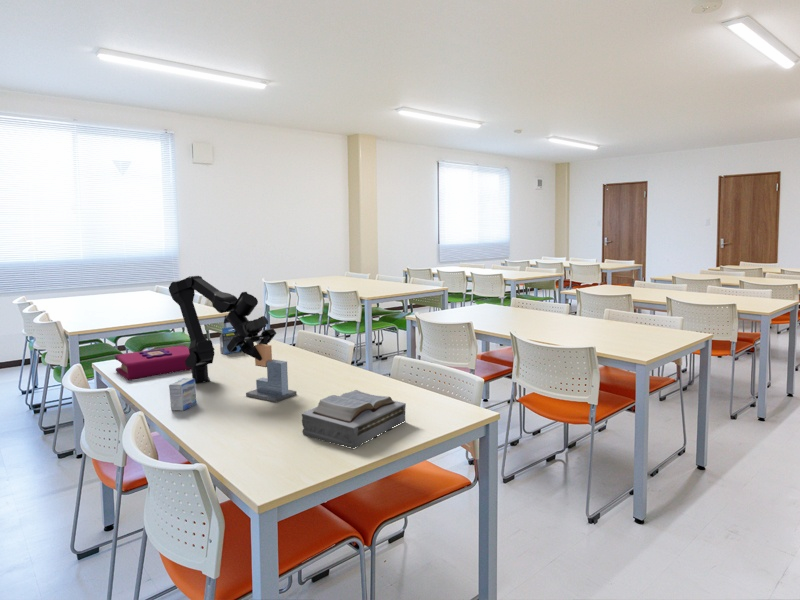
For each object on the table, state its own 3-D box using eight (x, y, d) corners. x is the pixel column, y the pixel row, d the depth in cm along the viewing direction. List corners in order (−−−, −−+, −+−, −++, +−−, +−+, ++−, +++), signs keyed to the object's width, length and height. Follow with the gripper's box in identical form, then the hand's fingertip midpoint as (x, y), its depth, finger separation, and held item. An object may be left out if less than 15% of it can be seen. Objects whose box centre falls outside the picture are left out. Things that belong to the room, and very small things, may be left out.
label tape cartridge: (238, 350, 259) (237, 324, 258) (241, 351, 256) (240, 325, 255) (220, 353, 254) (218, 327, 252) (223, 354, 251) (222, 328, 249)
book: (201, 369, 226) (200, 351, 225) (128, 382, 208) (126, 362, 207) (184, 360, 242) (183, 343, 241) (115, 371, 224) (113, 353, 223)
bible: (292, 431, 155) (291, 398, 154) (364, 408, 174) (364, 378, 172) (343, 455, 139) (342, 417, 137) (417, 427, 157) (416, 394, 156)
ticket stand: (246, 396, 187) (244, 361, 186) (267, 388, 196) (265, 355, 194) (276, 402, 180) (274, 366, 178) (296, 394, 188) (295, 359, 187)
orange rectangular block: (255, 365, 188) (254, 345, 187) (261, 363, 191) (260, 343, 190) (265, 367, 185) (264, 346, 185) (272, 365, 188) (271, 345, 187)
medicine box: (183, 411, 172) (181, 384, 171) (170, 410, 173) (168, 384, 172) (197, 403, 180) (195, 378, 179) (184, 402, 181) (183, 377, 180)
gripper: (230, 313, 180) (256, 349, 176) (271, 306, 196) (295, 339, 191) (216, 334, 185) (240, 370, 181) (256, 325, 201) (280, 358, 197)
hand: (265, 358), depth 187 cm, fingers open, 4 cm apart
